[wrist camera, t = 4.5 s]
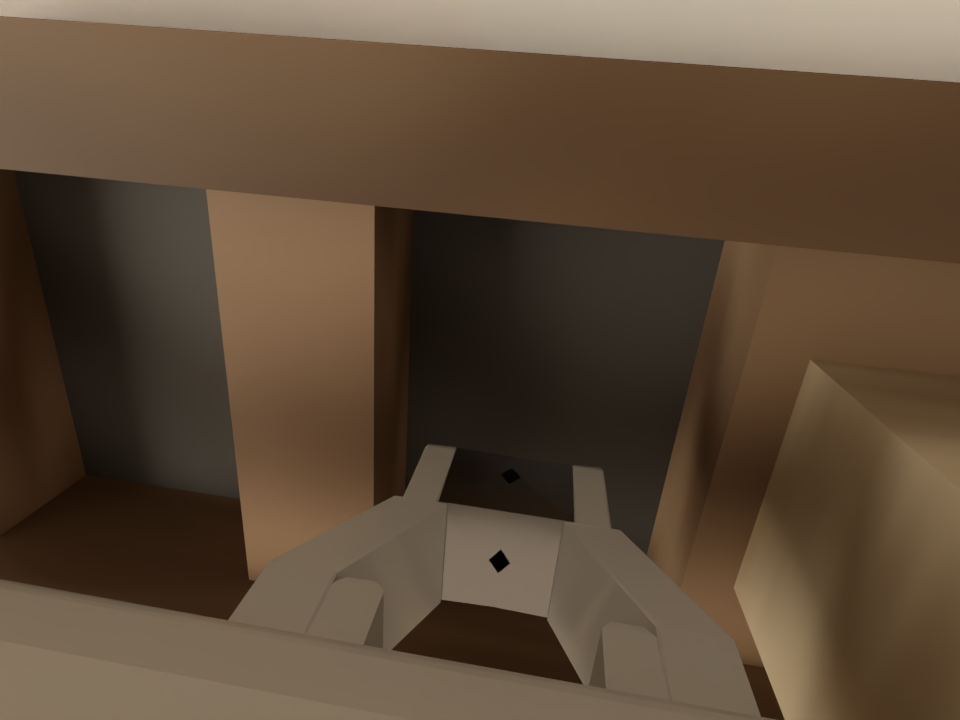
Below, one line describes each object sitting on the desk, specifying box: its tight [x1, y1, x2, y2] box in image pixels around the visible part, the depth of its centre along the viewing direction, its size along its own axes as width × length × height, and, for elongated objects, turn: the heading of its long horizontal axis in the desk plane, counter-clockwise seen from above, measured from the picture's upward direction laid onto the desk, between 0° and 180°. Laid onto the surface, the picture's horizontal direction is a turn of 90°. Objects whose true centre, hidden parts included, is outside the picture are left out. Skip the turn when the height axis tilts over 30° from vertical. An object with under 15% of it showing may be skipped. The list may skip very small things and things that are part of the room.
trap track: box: [0, 16, 960, 720], centre depth 11 cm, size 13×30×6 cm, turn 85°
